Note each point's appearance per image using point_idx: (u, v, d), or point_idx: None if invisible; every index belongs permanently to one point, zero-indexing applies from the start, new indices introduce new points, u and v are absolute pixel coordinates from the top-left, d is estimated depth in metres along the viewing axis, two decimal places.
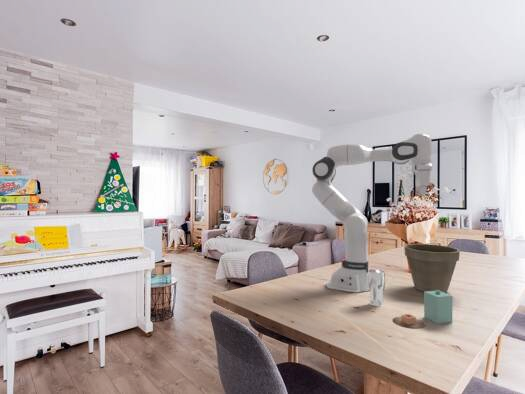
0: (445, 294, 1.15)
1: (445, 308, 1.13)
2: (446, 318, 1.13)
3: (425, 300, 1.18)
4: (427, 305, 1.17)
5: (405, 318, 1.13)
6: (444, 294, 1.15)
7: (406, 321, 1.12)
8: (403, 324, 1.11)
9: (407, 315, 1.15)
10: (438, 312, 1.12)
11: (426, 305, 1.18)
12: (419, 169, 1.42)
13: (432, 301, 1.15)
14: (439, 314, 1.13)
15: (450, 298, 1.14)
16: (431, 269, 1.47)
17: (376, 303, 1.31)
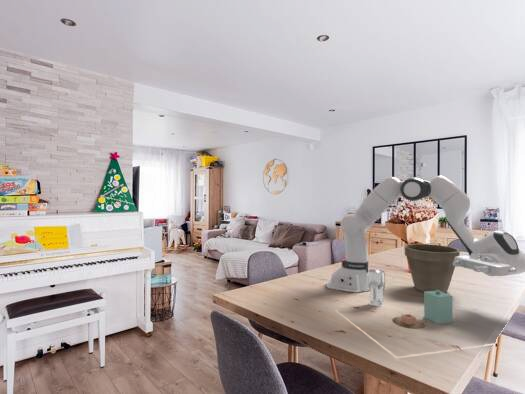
0: (445, 294, 1.15)
1: (445, 308, 1.13)
2: (446, 318, 1.13)
3: (425, 300, 1.18)
4: (427, 305, 1.17)
5: (405, 318, 1.13)
6: (444, 294, 1.15)
7: (406, 321, 1.12)
8: (403, 324, 1.11)
9: (407, 315, 1.15)
10: (438, 312, 1.12)
11: (426, 305, 1.18)
12: None
13: (432, 301, 1.15)
14: (439, 314, 1.13)
15: (450, 298, 1.14)
16: (431, 269, 1.47)
17: (376, 303, 1.31)
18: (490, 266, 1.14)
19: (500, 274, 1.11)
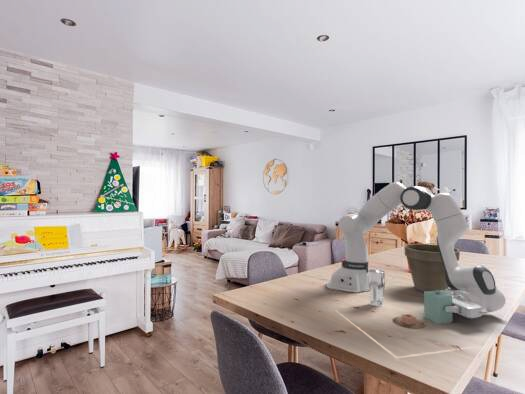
0: (445, 294, 1.15)
1: None
2: (446, 318, 1.13)
3: (425, 300, 1.18)
4: (427, 305, 1.17)
5: (405, 318, 1.13)
6: (444, 294, 1.15)
7: (406, 321, 1.12)
8: (403, 324, 1.11)
9: (407, 315, 1.15)
10: (438, 312, 1.12)
11: (426, 305, 1.18)
12: None
13: (432, 301, 1.15)
14: (439, 314, 1.13)
15: (450, 298, 1.14)
16: (431, 269, 1.47)
17: (376, 303, 1.31)
18: (461, 307, 1.11)
19: (470, 316, 1.08)
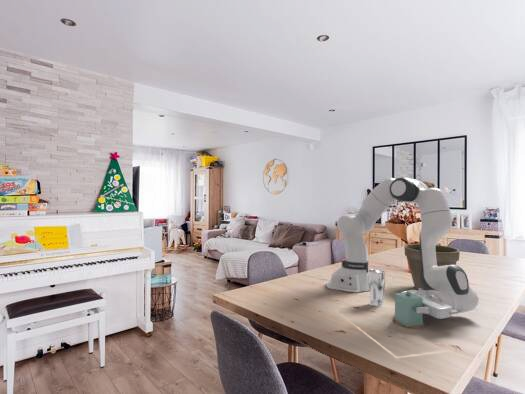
0: (415, 296, 1.13)
1: None
2: (416, 321, 1.10)
3: (396, 302, 1.15)
4: (398, 307, 1.14)
5: None
6: (414, 296, 1.13)
7: None
8: None
9: None
10: (407, 314, 1.10)
11: (396, 307, 1.15)
12: None
13: (402, 304, 1.12)
14: (408, 317, 1.10)
15: (420, 300, 1.11)
16: None
17: (376, 303, 1.31)
18: (431, 307, 1.08)
19: (439, 317, 1.05)
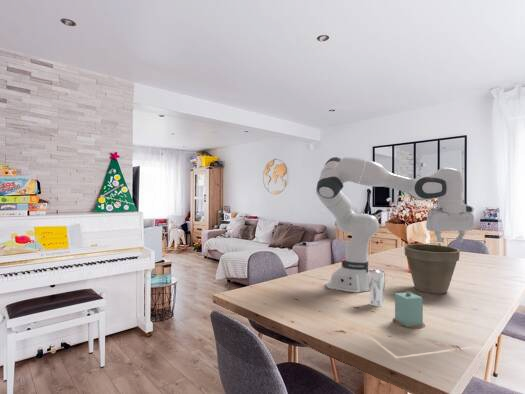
0: (415, 296, 1.13)
1: (415, 310, 1.10)
2: (416, 321, 1.10)
3: (396, 302, 1.15)
4: (398, 307, 1.14)
5: None
6: (414, 296, 1.13)
7: None
8: None
9: None
10: (407, 314, 1.10)
11: (396, 307, 1.15)
12: None
13: (402, 304, 1.12)
14: (408, 317, 1.10)
15: (420, 300, 1.11)
16: (431, 269, 1.47)
17: (376, 303, 1.31)
18: None
19: (431, 229, 1.20)
